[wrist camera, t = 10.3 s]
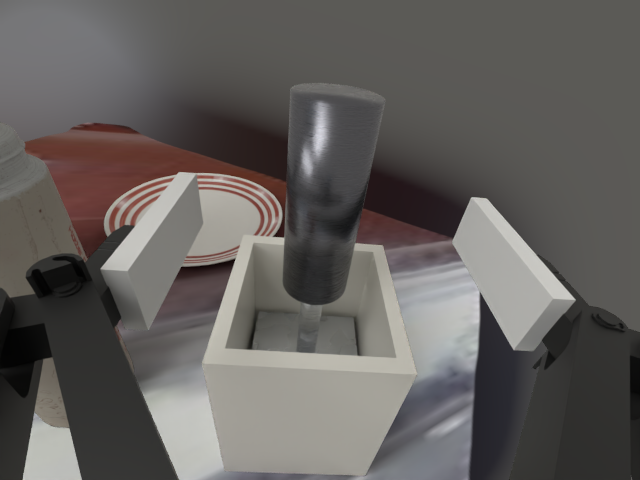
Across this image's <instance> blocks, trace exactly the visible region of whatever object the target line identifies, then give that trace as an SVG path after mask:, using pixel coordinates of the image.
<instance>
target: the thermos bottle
mask: <svg viewBox="0 0 640 480" xmlns="http://www.w3.org/2000/svg"><path fill="white" fill-rule="evenodd" d="M24 149H25V143H24V142H23V141H22V140H21V139H19V137H18V135H17V133H16V132H15V131H14V129H13V128H12V127H10V126H8V125H7V124H4V123H1V122H0V288H2V289H3V290H5V291H6V292H7V294H8V295H9V297H10V298H11V297H17V296H24V295H30V294H35V292H34V291H33V289H32V287H31V286H30V284H29V283H28V281H27V279H26V278H25V277H26V272H27V270H28V269H29V268H30V267H31V266H32V265H33V264H35V263H36V262H38V261H40V260H41V259H44V258H47V257H49V256H52V255H57V254H62V253H72V254H76V255H79V256H80V257H81V258H82V259H83V260H84V262H86V261H87V260H88V259H87V257H86V255H85V252H84V250H83V248H82V246H81V243H80V241H79V239H78V236H77V234H76V232H75V230H74V227H73V225H72V223H71V220H70V218H69V216H68V214H67V211H66V209H65V207H64V204H63V202H62V200H61V197H60V195H59V193H58V191H57V188H56V186H55V184H54V181H53V179H52V177H51V175H50V172H49V170H48V168H47V166H46V165H45V163H44V162H43V161H42V160H40V159H39V158H37V157H35V156H32V155H28V154H26V152H25V150H24ZM114 329H115V331H116V334H117V336H118V338H119V341H120V343H121V345H122V348H123V350H124V352H125V355H126V357H127V359H128V362H129V364H130V366H131V369H132V371H133V373H134V366H133V363H132V360H131V358H130V355H129V353H128V351H127V349H126V346H125V344H124V342H123V339H122V337H121V335H120V333H119V330H118V328H117V326H116V327H115V328H114ZM35 413H36V414H37V415H38V416H39V417H40V418H41V419H42V420H43V421H44V422H45V423H47V424H49V425H51V426H55V427H63V428H69V423H68V419H67V415H66V411H65V407H64V403H63V398H62V394H61V390H60V386H59V382H58V378H57V374H56V369H55V365H54V361H53V357H52V358H47V359H44V360H43V365H42V371H41V377H40V382H39V388H38V394H37V399H36V405H35Z"/></svg>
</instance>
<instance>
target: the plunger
mask: <svg viewBox="0 0 640 480" xmlns="http://www.w3.org/2000/svg"><path fill="white" fill-rule="evenodd" d="M384 104H385V99H384V98H383V97H382V96H380V95H378V94H376V93H373V92H371V91H368V90H364V89H360V88H356V87H351V86H345V85H338V84H326V83H306V84H299V85H295V86H293V87H292V88H291V92H290V115H289V139H288V164H287V186H286V209H285V232H284V256H283V279H282V282H283V286H284V289H285V290H286V292H287V293H288V294H289V295H290V296H291V297H292V298H294V299H296V300H297V301H300V302H301V306H300V314H291V313H275V312H259V314H258V319H257V324H256V329H255V335H254V340H253V345H252V350H262V351H280V352H298V353H316V354H334V355H352V356H358V355H357V346H356V337H355V328H354V319H353V317H338V316H322V315H321V312H322V305H324V304H329V303H332V302H334V301H336V300H337V299H339V298H340V297H341V296H342V295H343V293H344V292H345V289H346V285H347V280H348V276H349V271H350V266H351V261H352V257H353V252H354V247H355V242H356V238H357V233H358V228H359V223H360V219H361V214H362V209H363V204H364V199H365V195H366V190H367V185H368V181H369V176H370V171H371V166H372V162H373V157H374V152H375V147H376V143H377V138H378V133H379V128H380V124H381V119H382V114H383V109H384Z"/></svg>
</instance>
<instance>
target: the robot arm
mask: <svg viewBox="0 0 640 480" xmlns="http://www.w3.org/2000/svg"><path fill="white" fill-rule="evenodd" d="M202 225H203V217H202V210H201V203H200V196H199V189H198V182H197V175H196V173H184V172H179V173H178V174H177V175H176V177H175V178H174V179H173V180H172V182H171V183H170V184H169V185H168V187H167V188H166V189H165V190H164V191H163V193H162V194H161V195H160V196H159V198H158V199H157V200H156V201H155V202H154V204H153V205H152V206H151V207H150V209H149V210H148V211H147V212H146V214H145V215H144V216H143V217H142V218H141V220H140V221H139V222H138V223H137V225H136V226H134V225H123V226H122V227H120V228H118V229H117V230H115V231H113V232H112V233H111V234H110V235H109V236H108V237H107V238H106V240H105V241H104V243H102V244H101V245H100V246H99V247H98V250H96V251H95V252H94V253H93V254H92V255H91V256H90V257H89V259H88V260H87V261H86V262H84V260H83V259H82V258H81V257H80V256H79V255H76V254H72V253H62V254H57V255H52V256H49V257H47V258H44V259H41V260H40V261H38V262H36V263H35V264H33V265H32V266H31V267H30V268H29V269H28V270H27V272H26V277H25V278H26V279H27V281H28V283H29V284H30V286H31V287H32V289H33V291H34V292H35V294H30V295H24V296H17V297H11V298H10V297H9V295H8V294H7V292H6V291H5V290H3V289H2V288H0V480H22V479H23V473H24V467H25V462H26V456H27V450H28V445H29V439H30V433H31V428H32V422H33V416H34V411H35V405H36V399H37V394H38V388H39V382H40V377H41V371H42V365H43V360H44V359H47V358H52V357H53V361H54V365H55V369H56V374H57V378H58V382H59V386H60V390H61V394H62V398H63V403H64V407H65V411H66V415H67V419H68V423H69V427H70V432H71V436H72V440H73V444H74V448H75V452H76V456H77V461H78V465H79V469H80V473H81V477H82V480H179V479H178V476H177V474H176V472H175V469H174V467H173V465H172V462H171V460H170V458H169V455H168V453H167V451H166V448H165V446H164V444H163V441H162V439H161V436H160V434H159V432H158V429H157V427H156V425H155V422H154V420H153V418H152V415H151V413H150V411H149V408H148V406H147V404H146V401H145V399H144V397H143V394H142V392H141V390H140V387H139V385H138V383H137V380H136V378H135V376H134V373H133V371H132V369H131V366H130V364H129V362H128V359H127V357H126V355H125V352H124V350H123V348H122V345H121V343H120V341H119V338H118V336H117V334H116V331H115V329H114V328H115V327H116V325H117V323H118V322H119V320H120V319H121V321H122V323H123V325H124V328H125V329H126V330H145V331H148V330H149V328H150V327H151V325H152V323H153V321H154V319H155V317H156V315H157V313H158V311H159V309H160V307H161V305H162V303H163V301H164V299H165V297H166V295H167V293H168V291H169V290H170V288H171V286H172V284H173V282H174V280H175V278H176V276H177V274H178V272H179V270H180V268H181V266H182V264H183V262H184V260H185V258H186V256H187V254H188V253H189V251H190V249H191V247H192V245H193V243H194V241H195V239H196V237H197V235H198V233H199V231H200V229H201V227H202ZM452 243H453V245H454V247H455V248H456V250H457V252H458V254H459V255H460V257H461V259H462V261H463V262H464V264H465V266H466V268H467V269H468V271H469V273H470V275H471V276H472V278H473V280H474V282H475V283H476V285H477V287H478V289H479V290H480V292H481V294H482V296H483V297H484V299H485V301H486V303H487V304H488V306H489V308H490V310H491V311H492V313H493V315H494V317H495V318H496V320H497V322H498V324H499V325H500V327H501V329H502V331H503V332H504V334H505V336H506V338H507V339H508V341H509V343H510V345H511V346H512V348H513V350H523V351H534V349H535V348H536V347H537V346H538V345H539V343H540V342H541V341H543V343H544V344H545V346H546V347H547V349H548V350H547V351H546V352H545V353H544V354H543V355H542V357H540V359H539V360H538V361H537V362H536V363H535V364H534V366H533V368H534V369H536V368H537V367H538V366H540V367H539V371H538V374H537V378H536V381H535V385H534V389H533V392H532V396H531V400H530V404H529V407H528V411H527V415H526V418H525V422H524V426H523V429H522V433H521V437H520V440H519V444H518V448H517V451H516V456H515V459H514V462H513V466H512V470H511V474H510V477H509V480H631V477H632V480H640V332H637V331H634V330H631V329H628V327H627V326H626V325H625V324H624V322H623V321H622V320H620V319H619V318H618V317H617V316H615V315H614V314H612V313H610V312H608V311H606V310H604V309H601V308H598V307H593V306H589V305H588V304H587V303H586V302H585V301H584V300H583V298H582V297H581V296H580V295H579V294H578V293H577V292H576V291H575V290H574V288H572V287H571V285H570V284H569V283H568V282H566V281H565V279H564V277H563V276H562V275H561V274H559V272H558V271H557V270H556V269H555V268H554V267H553V265H552V264H551V263H550V262H548V261H547V260H545V259H544V258H542V257H541V256H540V255H536V254H535V253H534V252H533V251H532V250H531V249H530V247H529V246H528V245H527V244H526V243H525V242H524V241H523V240H522V238H521V237H520V236H519V235H518V234H517V233H516V231H515V230H514V229H513V228H512V227H511V226H510V225H509V223H508V222H507V221H505V219H504V218H503V217H502V215H501V214H500V213H499V212H498V211H497V210H496V209H495V208H494V206H493V205H492V204H491V203H490V202H489V201H488V200H487V199H486V198H474V197H472V198H471V200H470V202H469V204H468V207H467V209H466V211H465V214H464V216H463V218H462V221H461V223H460V225H459V227H458V230H457V232H456V234H455V237H454V239H453V241H452Z"/></svg>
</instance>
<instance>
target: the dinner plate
mask: <svg viewBox="0 0 640 480" xmlns="http://www.w3.org/2000/svg"><path fill="white" fill-rule="evenodd" d="M196 175H197V182H198V189H199V196H200V203H201V210H202V217H203V225H202V227H201V229H200V231H199V233H198V235H197V237H196V239H195V241H194V243H193V245H192V247H191V249H190V251H189V253H188V254H187V256H186V258H185V260H184V262H183V264H182V266H181V267H189V266H201V265H210V264H216V263H221V262H225V261H229V260H233V259H236V256H237V253H238V250H239V247H240V244H241V241H242V238H243V235H255V236H268V237H273V236H274V235H275V234H276V232H277V231H278V229H279V227H280V225H281V222H282V217H283V215H282V208H281V206H280V204H279V202H278V200H277V199H276V198H275V196H274V195H273V194H272V193H270V192H269V191H268V190H267V189H265V188H263V187H262V186H260V185H258V184H256V183H253V182H251V181H248V180H245V179H242V178H238V177H234V176H229V175H222V174H211V173H196ZM175 177H176V175H173V176H168V177H163V178H159V179H156V180H153V181H150V182H147V183H144V184H142V185H140V186H137V187H135V188H133V189H132V190H130V191H128V192H127V193H125V194H124V195H122V196H121V197H120V198H118V199H117V200H116V201H115V202H114V203H113V204H112V205H111V207H110V208H109V210H108V211H107V213H106V216H105V219H104V229H105V232H106V235H107V237H108V236H109V235H110V234H111V233H112V232H113V231H115V230H117V229H118V228H120V227H122V226H123V225H134V226H136V225H137V223H138V222H139V221H140V220H141V218H142V217H143V216H144V215H145V214H146V212H147V211H148V210H149V209H150V207H151V206H152V205H153V204H154V202H155V201H156V200H157V199H158V198H159V196H160V195H161V194H162V193H163V191H164V190H165V189H166V188H167V187H168V185H169V184H170V183H171V182H172V180H173V179H174V178H175Z"/></svg>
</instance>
